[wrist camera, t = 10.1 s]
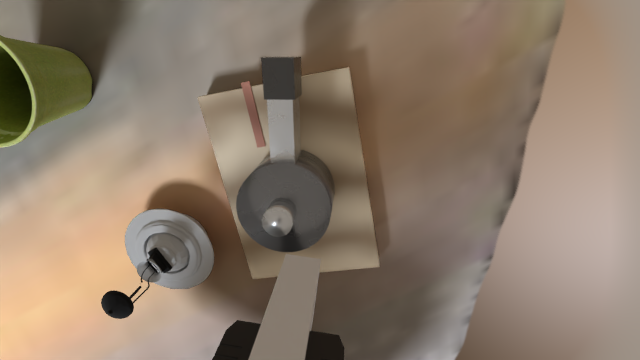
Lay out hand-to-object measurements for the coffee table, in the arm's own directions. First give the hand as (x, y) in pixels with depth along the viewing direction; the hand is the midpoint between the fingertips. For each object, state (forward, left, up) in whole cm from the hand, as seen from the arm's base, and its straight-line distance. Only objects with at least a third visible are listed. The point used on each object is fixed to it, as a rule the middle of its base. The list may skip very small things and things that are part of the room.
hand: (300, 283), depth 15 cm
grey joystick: (-7, +19, -21) cm, 29 cm away
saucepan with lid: (+2, +4, -18) cm, 19 cm away
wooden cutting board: (-2, +4, -21) cm, 21 cm away
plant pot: (+12, +25, -21) cm, 35 cm away
